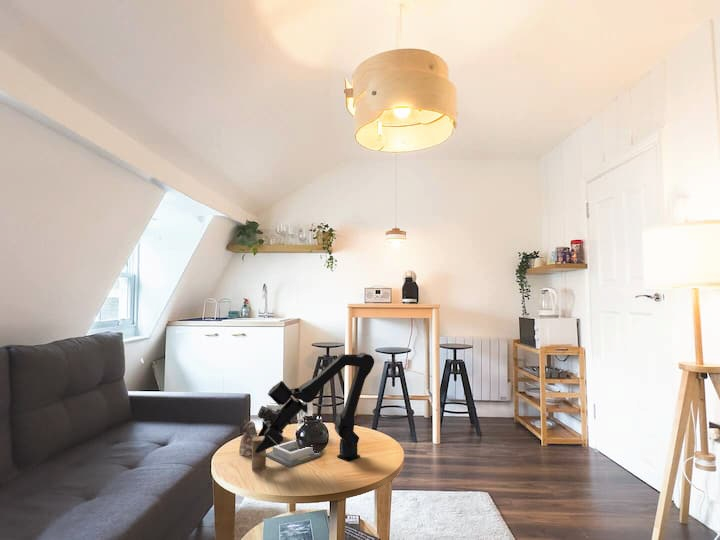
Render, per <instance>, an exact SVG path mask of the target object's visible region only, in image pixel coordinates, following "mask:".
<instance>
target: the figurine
mask: <svg viewBox="0 0 720 540" xmlns="http://www.w3.org/2000/svg"><path fill="white" fill-rule="evenodd" d="M243 423H244V426H243V428H242V436H241V439H240V444H239V449H238V451H239V455H240V454H241V455H240V456H242V455H244V456H243V457H249V455H252V437H257V436H258V434H259V432H257V427H256V423H255V422H254V421H252V420H249V421H247V420H244V421H243Z"/></svg>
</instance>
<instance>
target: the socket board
mask: <svg viewBox="0 0 720 540" xmlns="http://www.w3.org/2000/svg"><path fill="white" fill-rule="evenodd" d="M296 440H297V439H294V440H290V441H287V442H282V443H281V444H280V445H277V446H276V445H275V446H273V447H272V451H269V452H266V458H268V459H270V460H273V461H274V462H276V463H278V464H281V465H283V466H285V467H287V468H290V467H293V466H296V465H300V464H301V463H305V462H308V461H311V460H314V459H315V458H319V457H321V456H322V453H321V452H319V453H314V451H315V450H314V451H313V447H305V448H302V449H299V447H298V445H297V442H296Z"/></svg>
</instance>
